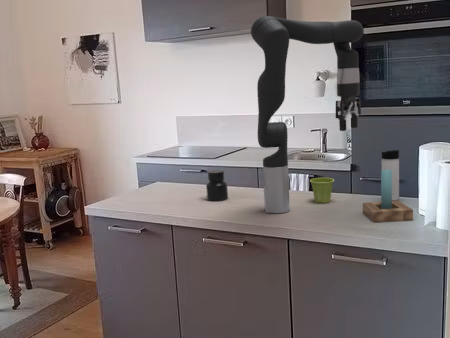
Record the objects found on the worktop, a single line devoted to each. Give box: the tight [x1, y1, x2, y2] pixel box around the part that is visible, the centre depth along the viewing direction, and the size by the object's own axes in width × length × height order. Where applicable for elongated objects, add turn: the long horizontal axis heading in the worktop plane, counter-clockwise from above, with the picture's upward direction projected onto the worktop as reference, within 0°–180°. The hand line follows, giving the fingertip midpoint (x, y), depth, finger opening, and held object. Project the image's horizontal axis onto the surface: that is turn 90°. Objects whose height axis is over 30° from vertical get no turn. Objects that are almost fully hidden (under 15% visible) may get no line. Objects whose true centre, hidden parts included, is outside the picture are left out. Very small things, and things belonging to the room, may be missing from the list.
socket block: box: [362, 200, 414, 223], centre depth 168 cm, size 13×13×4 cm
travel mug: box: [381, 149, 400, 201], centre depth 186 cm, size 6×7×20 cm
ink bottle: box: [205, 169, 229, 202], centre depth 208 cm, size 10×9×12 cm
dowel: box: [380, 169, 392, 209], centre depth 167 cm, size 3×3×16 cm
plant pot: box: [309, 177, 335, 204], centre depth 193 cm, size 9×9×9 cm
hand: (348, 129), depth 170 cm, fingers open, 8 cm apart
